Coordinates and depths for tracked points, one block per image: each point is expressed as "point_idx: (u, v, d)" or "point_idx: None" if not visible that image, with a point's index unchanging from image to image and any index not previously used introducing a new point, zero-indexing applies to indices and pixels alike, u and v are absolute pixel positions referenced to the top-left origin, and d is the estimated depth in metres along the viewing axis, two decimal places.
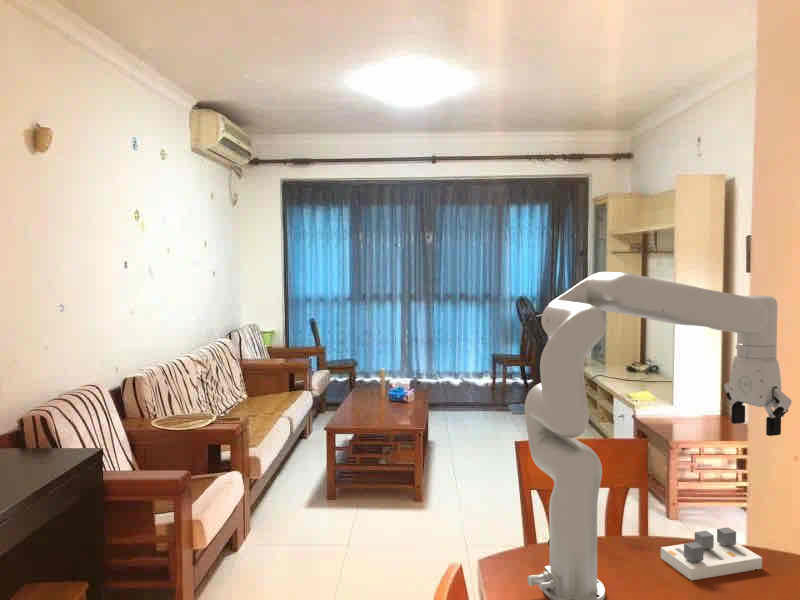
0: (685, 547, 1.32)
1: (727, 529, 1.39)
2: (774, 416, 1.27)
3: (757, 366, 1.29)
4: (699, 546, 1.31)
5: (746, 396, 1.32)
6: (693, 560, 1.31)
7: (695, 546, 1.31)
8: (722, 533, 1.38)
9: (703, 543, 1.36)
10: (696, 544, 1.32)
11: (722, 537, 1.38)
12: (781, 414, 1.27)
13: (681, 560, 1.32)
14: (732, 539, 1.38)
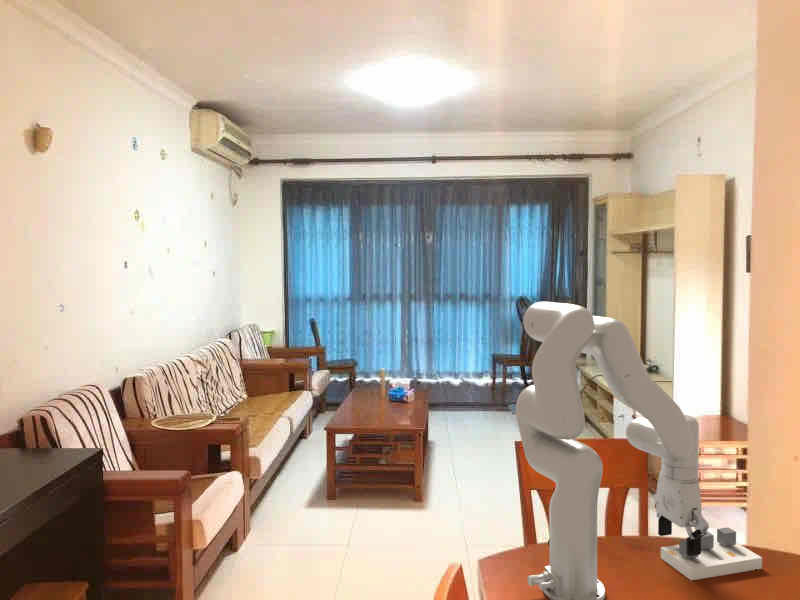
0: (680, 544, 1.34)
1: (727, 529, 1.39)
2: (693, 538, 1.30)
3: (678, 487, 1.32)
4: None
5: (669, 514, 1.35)
6: (688, 557, 1.32)
7: None
8: (722, 533, 1.38)
9: (703, 543, 1.36)
10: None
11: (722, 537, 1.38)
12: (700, 536, 1.30)
13: (681, 560, 1.32)
14: (732, 539, 1.38)
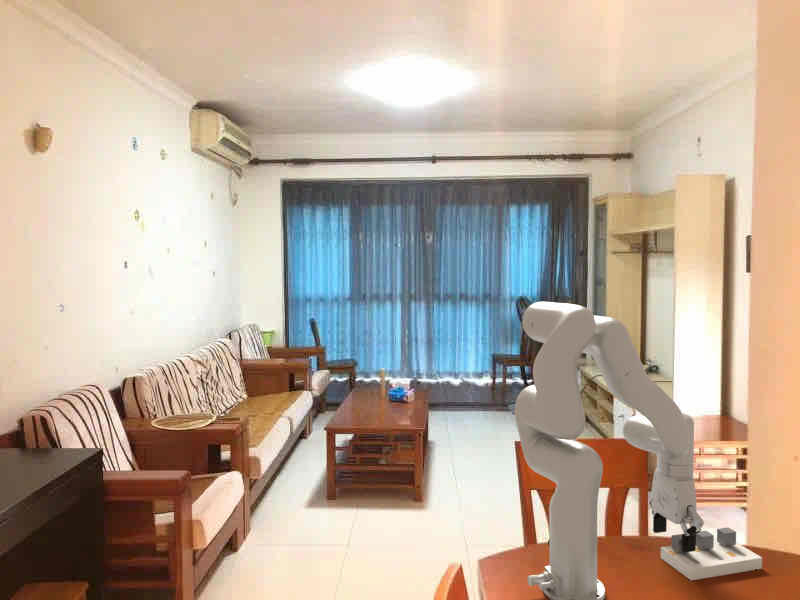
0: (672, 539, 1.36)
1: (727, 529, 1.39)
2: (688, 534, 1.32)
3: (674, 484, 1.33)
4: None
5: (664, 511, 1.36)
6: (680, 551, 1.35)
7: None
8: (722, 533, 1.38)
9: (703, 543, 1.36)
10: None
11: (722, 537, 1.38)
12: (695, 533, 1.31)
13: (681, 560, 1.32)
14: (732, 539, 1.38)
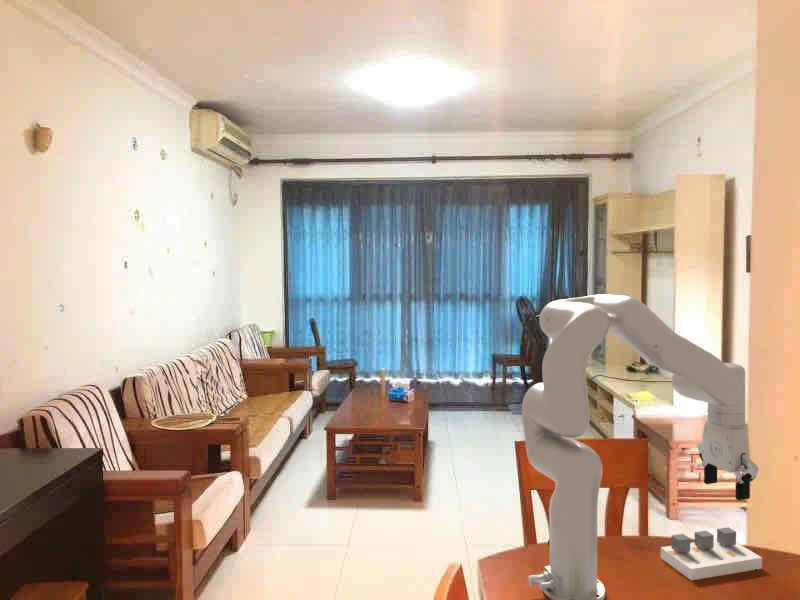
0: (672, 539, 1.36)
1: (727, 529, 1.39)
2: (743, 482, 1.32)
3: (726, 433, 1.34)
4: (686, 538, 1.35)
5: (717, 460, 1.37)
6: (680, 551, 1.35)
7: (683, 538, 1.35)
8: (722, 533, 1.38)
9: (703, 543, 1.36)
10: (683, 536, 1.36)
11: (722, 537, 1.38)
12: (749, 480, 1.32)
13: (681, 560, 1.32)
14: (732, 539, 1.38)
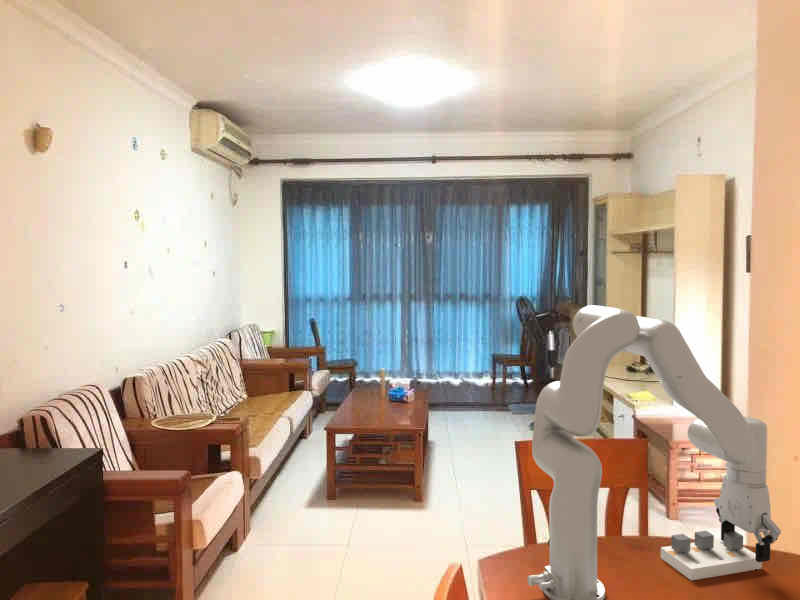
0: (672, 539, 1.36)
1: (734, 533, 1.37)
2: (763, 543, 1.27)
3: (747, 492, 1.29)
4: (686, 538, 1.35)
5: (736, 519, 1.32)
6: (680, 551, 1.35)
7: (683, 538, 1.35)
8: (729, 537, 1.36)
9: (703, 543, 1.36)
10: (683, 536, 1.36)
11: (729, 542, 1.36)
12: (770, 542, 1.27)
13: (681, 560, 1.32)
14: (739, 543, 1.36)
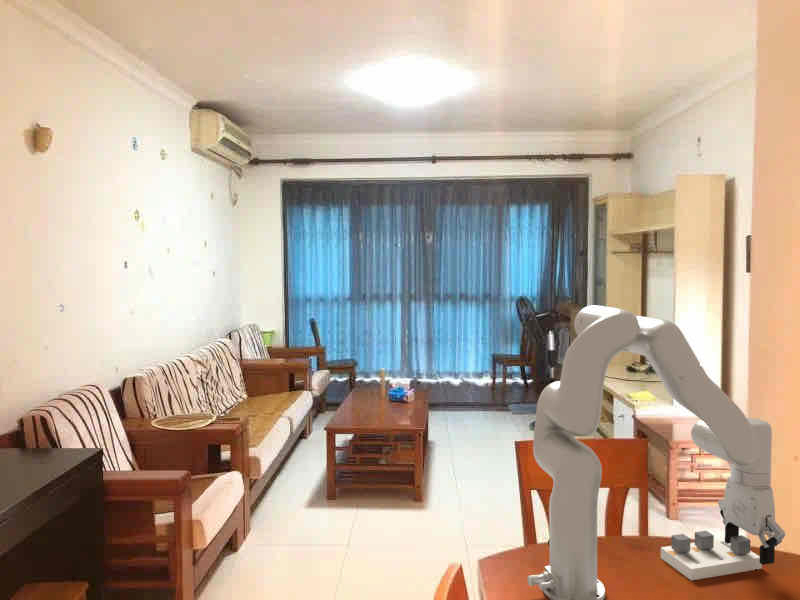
0: (672, 539, 1.36)
1: (741, 537, 1.35)
2: (767, 546, 1.26)
3: (751, 493, 1.28)
4: (686, 538, 1.35)
5: (740, 521, 1.31)
6: (680, 551, 1.35)
7: (683, 538, 1.35)
8: (736, 541, 1.34)
9: (703, 543, 1.36)
10: (683, 536, 1.36)
11: (736, 546, 1.34)
12: (775, 544, 1.25)
13: (681, 560, 1.32)
14: (746, 547, 1.34)
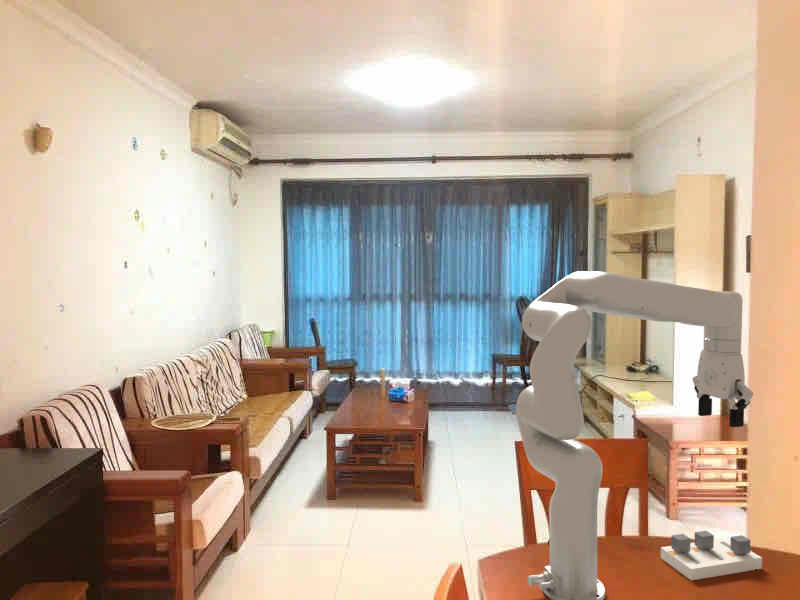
0: (672, 539, 1.36)
1: (741, 537, 1.35)
2: (736, 408, 1.31)
3: (722, 359, 1.33)
4: (686, 538, 1.35)
5: (711, 389, 1.36)
6: (680, 551, 1.35)
7: (683, 538, 1.35)
8: (736, 541, 1.34)
9: (703, 543, 1.36)
10: (683, 536, 1.36)
11: (736, 546, 1.34)
12: (743, 406, 1.31)
13: (681, 560, 1.32)
14: (746, 547, 1.34)
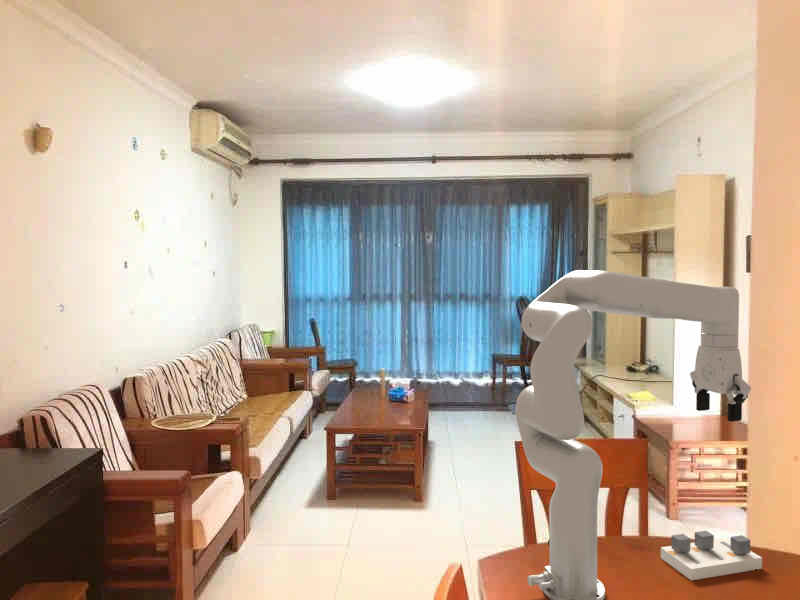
0: (672, 539, 1.36)
1: (741, 537, 1.35)
2: (735, 402, 1.32)
3: (719, 354, 1.34)
4: (686, 538, 1.35)
5: (709, 383, 1.37)
6: (680, 551, 1.35)
7: (683, 538, 1.35)
8: (736, 541, 1.34)
9: (703, 543, 1.36)
10: (683, 536, 1.36)
11: (736, 546, 1.34)
12: (741, 400, 1.31)
13: (681, 560, 1.32)
14: (746, 547, 1.34)
